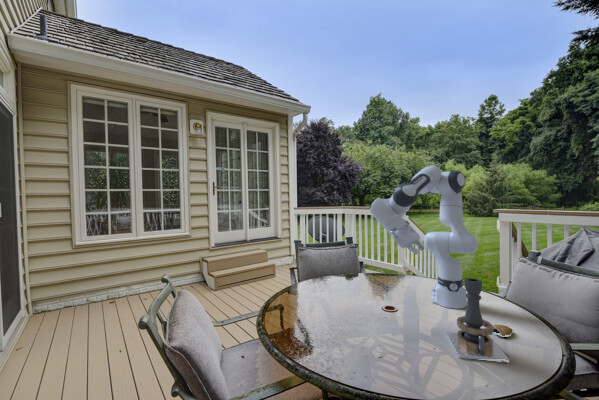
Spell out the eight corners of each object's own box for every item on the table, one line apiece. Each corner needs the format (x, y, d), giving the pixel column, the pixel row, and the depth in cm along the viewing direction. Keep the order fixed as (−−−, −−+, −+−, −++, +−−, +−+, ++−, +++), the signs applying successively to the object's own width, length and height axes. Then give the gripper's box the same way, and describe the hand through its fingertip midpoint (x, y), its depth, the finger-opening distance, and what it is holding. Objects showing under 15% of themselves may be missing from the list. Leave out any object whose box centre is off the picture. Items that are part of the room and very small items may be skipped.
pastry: (501, 328, 120) (501, 319, 120) (518, 335, 114) (518, 326, 114) (487, 332, 117) (487, 324, 117) (503, 340, 111) (504, 331, 110)
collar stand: (446, 335, 114) (445, 312, 114) (489, 339, 111) (488, 315, 111) (458, 358, 99) (458, 330, 99) (509, 363, 95) (509, 335, 95)
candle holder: (475, 339, 108) (475, 277, 108) (487, 348, 102) (486, 282, 102) (460, 340, 108) (460, 278, 108) (471, 349, 102) (470, 283, 101)
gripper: (394, 225, 113) (419, 250, 107) (408, 220, 129) (431, 243, 123) (384, 234, 116) (408, 260, 110) (399, 229, 132) (421, 251, 126)
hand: (420, 251), depth 117 cm, fingers open, 8 cm apart
